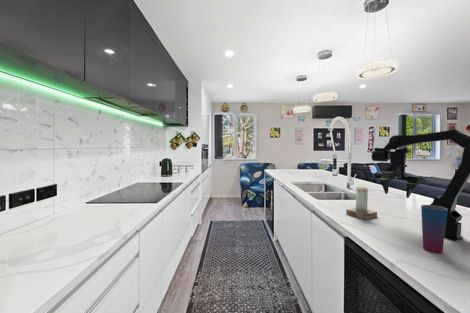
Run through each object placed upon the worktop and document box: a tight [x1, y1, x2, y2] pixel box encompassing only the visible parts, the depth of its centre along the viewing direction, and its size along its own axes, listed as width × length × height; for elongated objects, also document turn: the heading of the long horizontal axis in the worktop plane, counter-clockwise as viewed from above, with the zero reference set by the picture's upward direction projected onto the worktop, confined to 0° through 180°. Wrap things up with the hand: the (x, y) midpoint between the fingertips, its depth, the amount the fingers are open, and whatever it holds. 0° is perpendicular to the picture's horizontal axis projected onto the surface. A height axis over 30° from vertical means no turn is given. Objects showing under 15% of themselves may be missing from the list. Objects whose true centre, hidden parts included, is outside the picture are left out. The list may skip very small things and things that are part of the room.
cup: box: [420, 204, 448, 254], centre depth 76 cm, size 7×7×15 cm
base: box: [345, 207, 378, 220], centre depth 115 cm, size 10×10×2 cm
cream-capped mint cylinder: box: [355, 186, 369, 212], centre depth 114 cm, size 5×5×12 cm
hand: (396, 195), depth 102 cm, fingers open, 9 cm apart
